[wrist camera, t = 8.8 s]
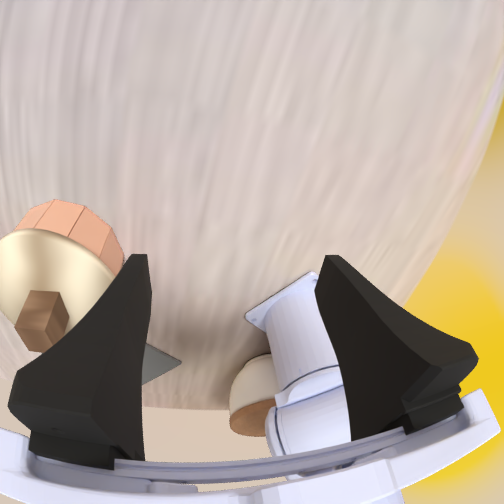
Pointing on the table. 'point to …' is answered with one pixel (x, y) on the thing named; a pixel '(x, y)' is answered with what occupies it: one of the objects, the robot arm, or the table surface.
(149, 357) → the mat
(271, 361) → the lidded jar
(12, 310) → the lid
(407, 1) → the table surface
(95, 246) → the bowl
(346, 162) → the table surface
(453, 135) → the table surface
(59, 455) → the robot arm
